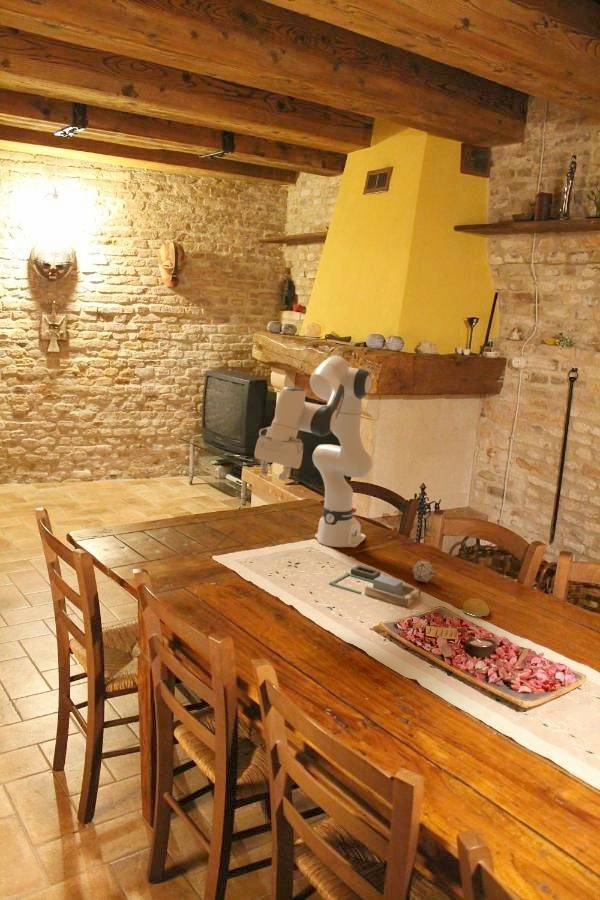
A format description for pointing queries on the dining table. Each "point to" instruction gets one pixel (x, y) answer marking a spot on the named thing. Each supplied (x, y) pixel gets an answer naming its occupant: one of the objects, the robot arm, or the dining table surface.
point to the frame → (346, 587)
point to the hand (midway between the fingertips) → (272, 477)
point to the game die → (423, 571)
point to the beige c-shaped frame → (404, 601)
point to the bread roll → (476, 607)
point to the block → (388, 585)
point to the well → (365, 572)
